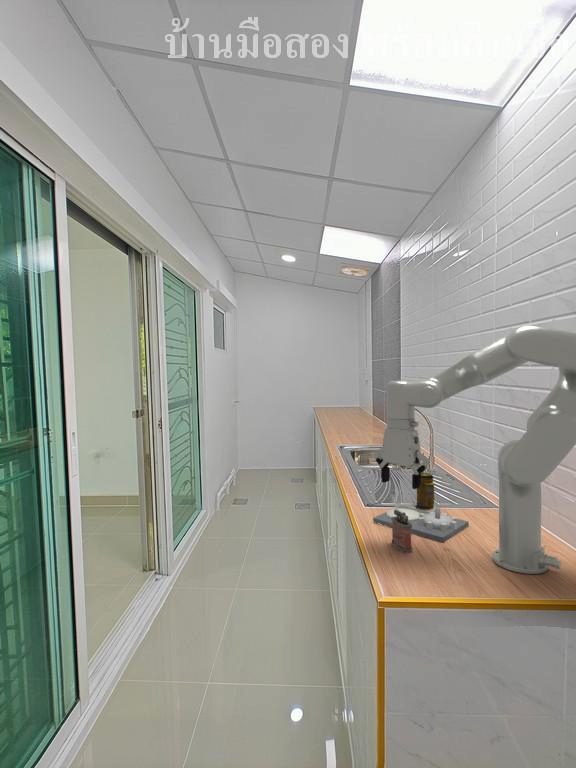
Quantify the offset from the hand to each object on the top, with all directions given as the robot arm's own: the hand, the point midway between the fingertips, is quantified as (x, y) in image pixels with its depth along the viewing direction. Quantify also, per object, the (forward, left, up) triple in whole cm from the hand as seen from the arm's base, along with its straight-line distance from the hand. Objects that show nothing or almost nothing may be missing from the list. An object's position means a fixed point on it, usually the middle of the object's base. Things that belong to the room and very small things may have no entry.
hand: (400, 484), depth 119 cm
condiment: (+12, -37, -18) cm, 43 cm away
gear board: (+5, -20, -18) cm, 27 cm away
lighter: (0, 0, -18) cm, 18 cm away
